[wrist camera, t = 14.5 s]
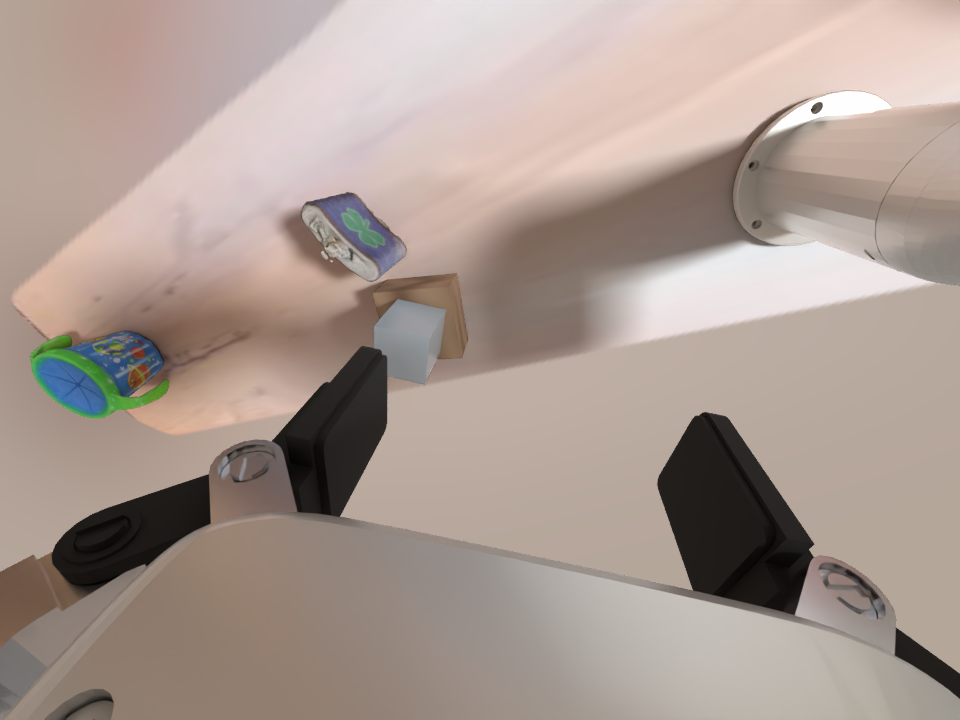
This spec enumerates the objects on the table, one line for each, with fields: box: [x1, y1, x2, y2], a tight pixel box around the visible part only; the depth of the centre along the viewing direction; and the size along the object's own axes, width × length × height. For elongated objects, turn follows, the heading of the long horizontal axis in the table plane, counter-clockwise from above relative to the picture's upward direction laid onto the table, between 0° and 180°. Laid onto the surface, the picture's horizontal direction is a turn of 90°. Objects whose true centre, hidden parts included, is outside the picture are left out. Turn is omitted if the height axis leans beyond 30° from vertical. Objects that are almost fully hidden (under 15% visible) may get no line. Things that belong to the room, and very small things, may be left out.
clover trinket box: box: [301, 192, 407, 282], centre depth 38 cm, size 9×3×11 cm, turn 44°
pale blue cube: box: [374, 299, 446, 384], centre depth 40 cm, size 6×6×7 cm
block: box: [372, 273, 468, 359], centre depth 45 cm, size 9×9×5 cm
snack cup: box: [30, 331, 169, 418], centre depth 53 cm, size 16×10×10 cm
